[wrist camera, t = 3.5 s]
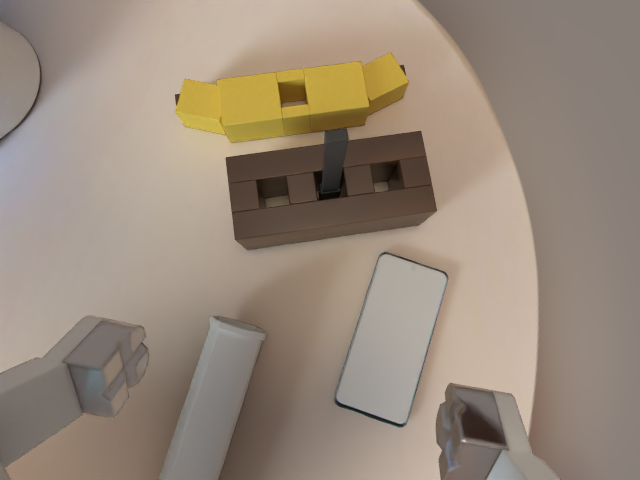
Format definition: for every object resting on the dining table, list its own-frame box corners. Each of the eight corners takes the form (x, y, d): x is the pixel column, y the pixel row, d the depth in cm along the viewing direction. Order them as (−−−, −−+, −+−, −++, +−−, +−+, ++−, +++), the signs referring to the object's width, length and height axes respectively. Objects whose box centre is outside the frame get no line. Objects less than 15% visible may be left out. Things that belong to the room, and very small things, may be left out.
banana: (407, 119, 42) (417, 100, 39) (186, 149, 42) (172, 132, 38) (397, 69, 43) (406, 45, 39) (181, 97, 43) (167, 75, 39)
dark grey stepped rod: (320, 207, 41) (323, 144, 25) (318, 198, 41) (321, 129, 25) (337, 205, 41) (352, 140, 25) (336, 195, 41) (349, 125, 25)
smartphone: (332, 404, 37) (381, 250, 39) (332, 402, 38) (380, 251, 40) (405, 429, 37) (450, 273, 39) (404, 428, 37) (448, 273, 40)
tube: (172, 660, 31) (274, 336, 34) (98, 657, 29) (212, 320, 33) (174, 603, 36) (262, 327, 40) (111, 599, 34) (209, 312, 38)
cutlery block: (419, 225, 41) (437, 211, 35) (246, 250, 40) (234, 240, 34) (406, 155, 42) (421, 130, 36) (238, 178, 41) (225, 157, 35)
